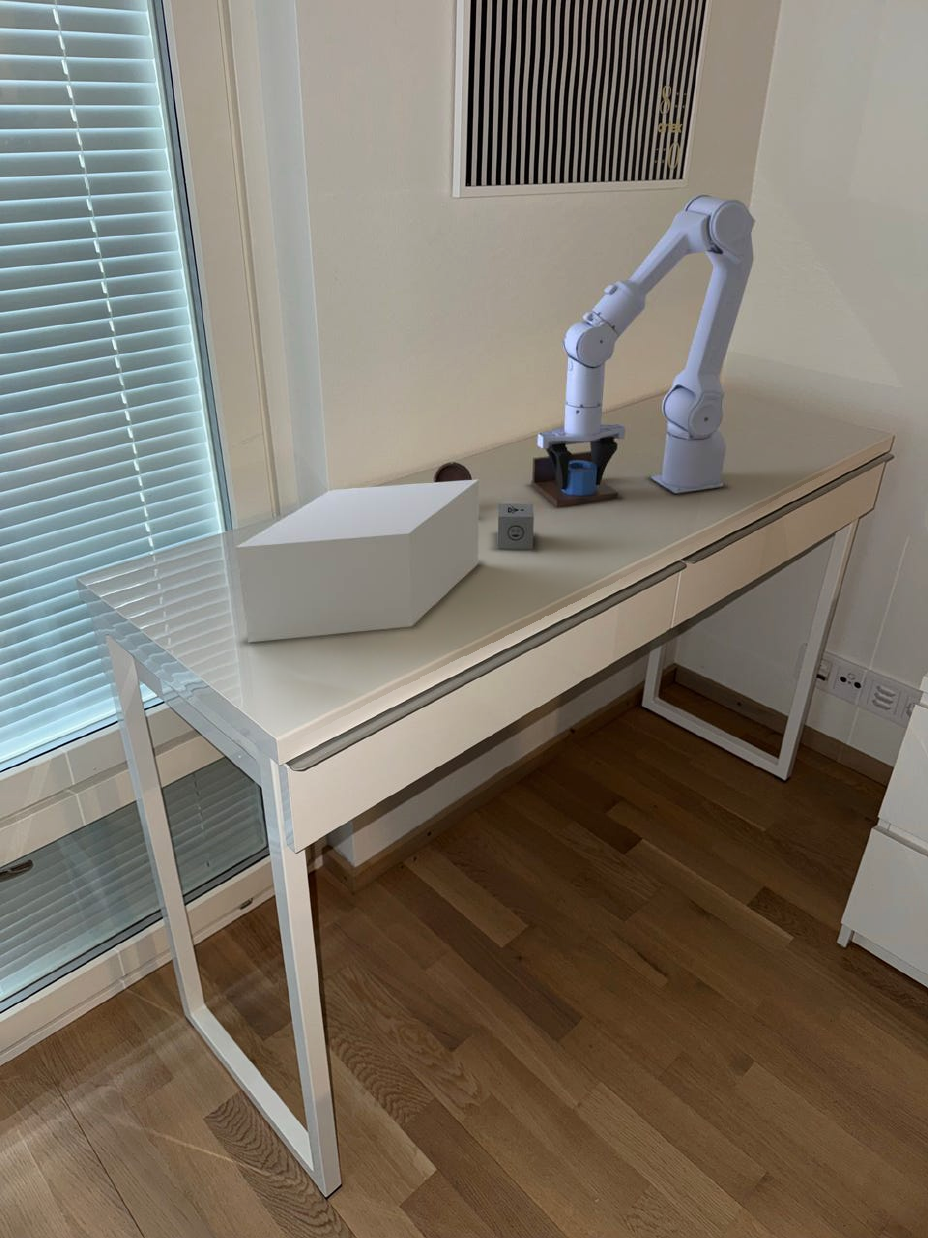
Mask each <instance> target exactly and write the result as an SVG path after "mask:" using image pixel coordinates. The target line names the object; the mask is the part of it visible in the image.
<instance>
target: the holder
mask: <svg viewBox="0 0 928 1238" xmlns="http://www.w3.org/2000/svg"><path fill="white" fill-rule="evenodd" d="M571 453H572V455H571V458H570V461H574V460H582V461H588V462H591V450H588V451H580V452H571ZM575 470H584V469H575ZM530 483H531V484H530V486H531V487H532V488H533V489H534V490H535V491H537V492H538V493H539V494H540V495H542V496H543V497H544V498H545V499H546V500H548V501H549V502H550V503H551V504H552V505H554V507H556V508H559V507H565V506H573V505H580V504H587V503H593V502H600V501H607V500H613V499H614V500H615V499H618V497H619V492H618V491H617V490H615V489H614V488H613V487H611V486H609V485H608V484H607V483H605V482H604V481H603V480H601V482H600V485H596V490H595V492H594V493H592V494H590V495H584V496H578V495H570V494H567V493H564V492H563V491H562V490H561V489H560V488H559V487H557V483H556V477H555V472H554V468H553V465H552V462H551V459H550V457H549V455H548V456H540V457H533V458H532V474H531V481H530Z"/></svg>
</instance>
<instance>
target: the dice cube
mask: <svg viewBox="0 0 928 1238" xmlns="http://www.w3.org/2000/svg"><path fill="white" fill-rule="evenodd" d="M497 504H498V508H497V512H498V513H497V550H533V546H534V521H535V516H534V504H533V503H512V502H511V503H509V502H508V503H505V502H498V503H497Z"/></svg>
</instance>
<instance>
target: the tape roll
mask: <svg viewBox="0 0 928 1238" xmlns="http://www.w3.org/2000/svg"><path fill="white" fill-rule="evenodd" d="M575 469H584V470H575ZM596 477H597V465H596V464H594V463H592V462H588V461H582V460H574V461H570V462H569V466H568V473H567V487H566V490H562V491H563V492H564V493H567V494H570V495H578V496H584V495H590V494H592V493H594V492H595V490H596Z"/></svg>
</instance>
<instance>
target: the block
mask: <svg viewBox="0 0 928 1238" xmlns="http://www.w3.org/2000/svg"><path fill="white" fill-rule="evenodd" d="M479 521H480V479H472V480H463V481H449V482H435V483H434V482H423V483H421V482H420V483H410V484H395V485H382V486H381V485H380V486H367V487H365V486H364V487H352V488H340V489H330V490H328V491H326V492H325V493H323V494H322V495H320V496H318V497H317V498H315V499H313V500H312V501H310V502H309V503H306V504H305V505H303V506H302V507H300V508H298V509H297V510H295V511H293V512H292V513H290V514H288V515H287V516H285V517H284V518H282V519H280V520H278V521H277V522H275V523H274V524H272V525H270V526H268V527H267V528H265V529H263V530H262V531H260V532H259V533H257V534H255V535H254V536H252V537H250V538H249V539H247V540H245V541H244V542H242V543H240V544H239V545H237V546H235V551H236V560H237V567H238V575H239V581H240V589H241V597H242V604H243V611H244V612H243V613H244V620H245V626H246V627H245V628H246V634H247V635H246V636H247V641H248V643H255V642H266V641H275V640H285V639H286V640H288V639H297V638H298V639H299V638H306V637H316V636H317V637H318V636H328V635H337V634H347V633H348V634H349V633H357V632H367V631H368V632H369V631H377V630H387V629H398V628H399V629H400V628H408V627H412V626H414V625H415V624H416V623H417V622H418V621H419V620H420V619H421V618H422V617H423V616H424V615H425V614H427V613H428V612H429V610H431V609H432V608H433V607H434V606H435V605H436V604H437V603H438V602H439V601H440V600H441V599H442V598H443V597H445V596H446V595H447V594H448V593H449V592H450V591H451V590H452V589H453V588H454V587H455V586H456V585H457V584H459V582H460V581H462V580H463V579H464V578H465V576H467V574H469V573H470V572H472V570H473V569H474V568H475V567H476V566H477V565H478V564H479V537H480V536H479V528H480V527H479V526H480V525H479V524H480V523H479Z"/></svg>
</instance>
